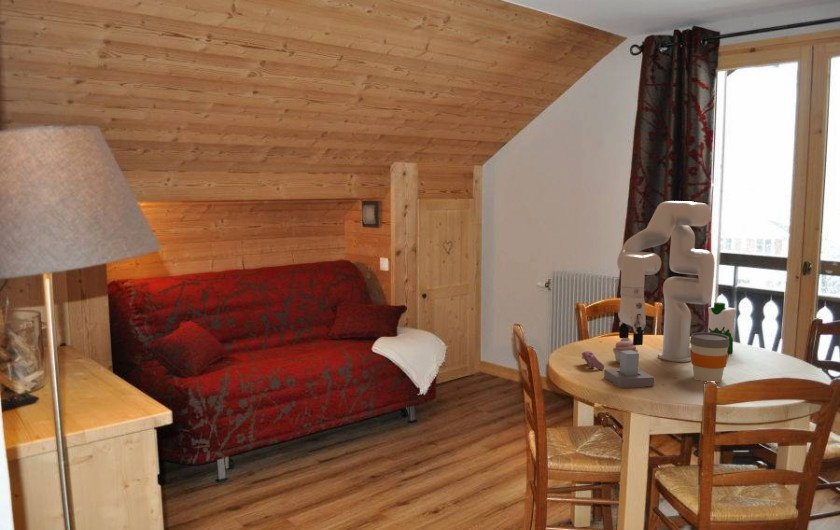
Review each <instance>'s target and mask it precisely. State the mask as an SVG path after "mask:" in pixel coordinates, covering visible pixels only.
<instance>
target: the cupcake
mask: <svg viewBox="0 0 840 530" xmlns="http://www.w3.org/2000/svg"><path fill="white" fill-rule="evenodd" d="M630 350H633V351H635V352H637V353H639V349H637V345H633V339H631V338H629V337H628V338H620V340H619V341H616V343H615V347H612V352H613V353H614V359H615V361H616V362H617V363H618V364H620V351H630Z"/></svg>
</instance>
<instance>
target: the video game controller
mask: <svg viewBox="0 0 840 530" xmlns="http://www.w3.org/2000/svg"><path fill="white" fill-rule="evenodd" d="M581 359H582V360H584V361H585V362H586V364H587V366H589V367H590V368H592V369H594V368H595V369H597V370H599V369H600V371H602V369H603V370H604V368H605V365H604V364H603V363H602V362H601V361H599V360H598V359H597V357H596V356H595V355H594V352H592V351H589V350H586V351H583V352H581Z"/></svg>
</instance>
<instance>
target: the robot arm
mask: <svg viewBox="0 0 840 530" xmlns="http://www.w3.org/2000/svg"><path fill="white" fill-rule="evenodd" d="M711 215H712V213H711V209H710V207H709V205H708V204H707V203H705V202H704V203H703V202H696V201H695V202H694V201H683V200H682V201H681V200H680V201H679V200H675V201H674V200H669V201H667V200H665V201H663V202H660V203H659V204H658V205H657V207H656V208H655V210H654V213H653V214H652V217H651V219H650V221H649V222H648V224H647V226H646V228H645V229H643V230H641V231H639V232H636V234H634V235H632V236H630V237H629V238H628V239H627V240H626V241H625V243H624V244H623V245H622V248H621V250H620V251H619V254H618V256H617V262H616V263H617V268H618V269H619V270H620V303H619V311H618V312H617V315H618V316H617V317H618V319H617V320H618V322H619V323H618V326H619V332H618V333H619V334H618V337H619V339H622V338H629V336H630V335H629V334H630V333H629V332H630V329H629V328H630V327H632V329H633V337H632V341H633V345H635V346H643V344H644V333H645V330H646V326H647V323H646V321H647V320H646V315H647V314H646V301H645V276H647V275H648V276H649V275H650V276H653V275H655V274H657V273H658V272H659V271H660V269H661V267H662V259H661V257H660V256H659V255H658V254H657V253H654V252H647V251H643V250H647V249H650V248H655V247H657V246H661V245H664V244H666V243H667V242H668V241H669V240H670V248H669V260H668V261H669V264H668V265H669V269H670V271H671V272H673V273H677V274H685V275H696V276H698V277H697V278H694V277H688V276H687V277H685V276H671V277H668V278H666V279H665V281H664V282H663V284H662V285H663V286H662V292H663V293H662V294H663V299H664V301H663V302H664V314H663V315H664V318H663V341H662V342H663V343H662V351H661V352H658V354H657V355H658V356H657V357H658V358H659V359H661V360H663V361H668V362H675V363H686V362H687V363H688V362H691V354H690V350H691V346H690V345H691V343H690V339H691V324H692V323H691V321H692V313H691V309H690V308H689V307H688V305H687V304H693V305H702V306H703V305H707V304H709V303H710V302H711V300H712V298H713V297H712V296H713V289H714V277H715V265H716V263H715V258H714V254H713V253H712V252H711V251H710V250H706V249H696V248H695V246H696V245H695V244H696V235H695V232H694V230H693V229H692V228H691V227H705V226H706V225H708V223H710V219H711Z"/></svg>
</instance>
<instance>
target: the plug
mask: <svg viewBox="0 0 840 530" xmlns="http://www.w3.org/2000/svg"><path fill="white" fill-rule="evenodd" d="M639 355H640V353H639V352H635V351H633V350H630V351H620V363H619V369H620V374H622V375H623V376H638V369H639V359H640V357H639Z"/></svg>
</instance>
